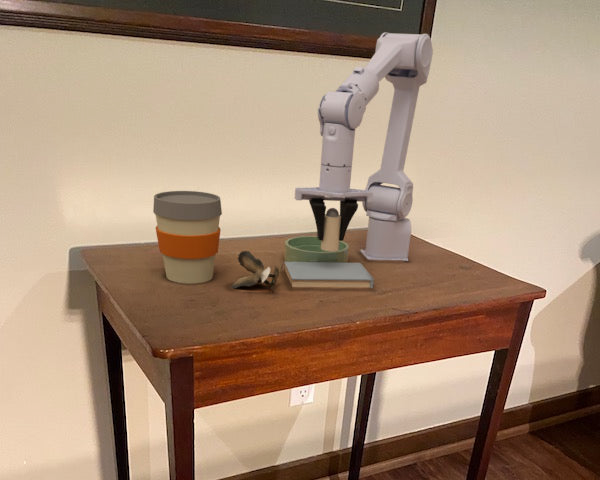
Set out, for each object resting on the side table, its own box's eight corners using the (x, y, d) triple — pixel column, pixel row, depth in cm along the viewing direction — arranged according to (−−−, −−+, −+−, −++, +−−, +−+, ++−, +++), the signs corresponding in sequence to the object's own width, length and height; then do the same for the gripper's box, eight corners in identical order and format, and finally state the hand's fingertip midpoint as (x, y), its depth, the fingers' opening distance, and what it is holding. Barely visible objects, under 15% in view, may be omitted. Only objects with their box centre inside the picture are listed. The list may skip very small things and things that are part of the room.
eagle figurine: (282, 277, 119) (238, 263, 120) (284, 253, 113) (238, 238, 113) (269, 307, 116) (224, 293, 116) (271, 284, 109) (223, 269, 110)
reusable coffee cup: (177, 263, 127) (174, 188, 120) (232, 272, 124) (233, 195, 117) (144, 280, 117) (138, 198, 109) (203, 290, 113) (202, 207, 106)
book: (359, 273, 129) (360, 262, 128) (372, 290, 119) (374, 279, 118) (283, 272, 126) (284, 261, 125) (291, 289, 117) (291, 278, 116)
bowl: (339, 254, 141) (341, 236, 139) (353, 272, 129) (355, 253, 127) (280, 253, 139) (281, 235, 137) (288, 271, 127) (289, 252, 125)
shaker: (336, 246, 122) (340, 206, 118) (340, 251, 119) (343, 210, 115) (319, 246, 121) (322, 205, 117) (322, 251, 118) (325, 209, 114)
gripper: (300, 166, 108) (296, 243, 114) (380, 169, 110) (371, 245, 117) (294, 160, 114) (290, 234, 120) (370, 164, 116) (362, 236, 123)
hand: (330, 239), depth 119 cm, fingers closed on shaker, 3 cm apart
